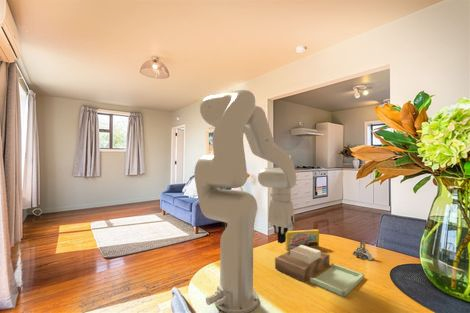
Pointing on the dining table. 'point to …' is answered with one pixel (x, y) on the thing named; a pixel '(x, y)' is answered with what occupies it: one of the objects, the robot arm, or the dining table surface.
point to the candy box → (302, 238)
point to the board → (301, 266)
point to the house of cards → (363, 252)
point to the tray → (338, 280)
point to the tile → (305, 254)
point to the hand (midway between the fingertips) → (281, 242)
